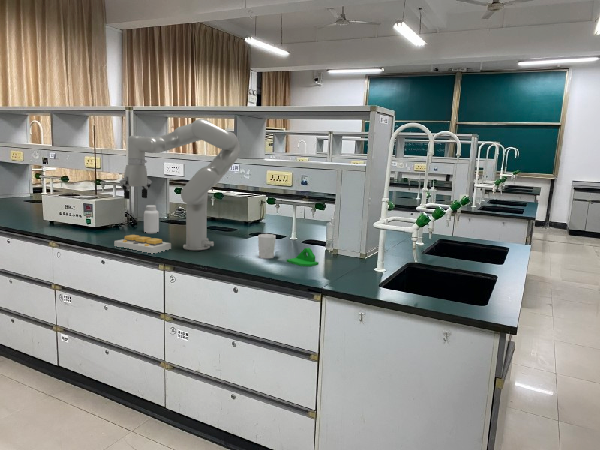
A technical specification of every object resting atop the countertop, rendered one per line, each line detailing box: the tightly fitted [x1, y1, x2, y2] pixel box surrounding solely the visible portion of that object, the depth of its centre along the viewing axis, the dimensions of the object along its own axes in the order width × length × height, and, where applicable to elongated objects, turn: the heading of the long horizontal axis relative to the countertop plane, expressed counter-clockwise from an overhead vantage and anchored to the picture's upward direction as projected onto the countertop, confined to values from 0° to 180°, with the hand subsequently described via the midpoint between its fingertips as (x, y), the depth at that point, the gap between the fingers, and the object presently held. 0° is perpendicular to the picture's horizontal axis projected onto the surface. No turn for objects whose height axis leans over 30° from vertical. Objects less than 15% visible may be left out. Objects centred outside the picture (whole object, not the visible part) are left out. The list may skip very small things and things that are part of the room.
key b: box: [135, 235, 152, 244], centre depth 212 cm, size 5×5×3 cm
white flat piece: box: [113, 238, 172, 255], centre depth 212 cm, size 24×12×4 cm, turn 63°
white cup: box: [257, 233, 277, 260], centre depth 205 cm, size 8×8×10 cm
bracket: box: [286, 247, 319, 268], centre depth 196 cm, size 12×8×7 cm, turn 45°
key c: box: [124, 234, 141, 242], centre depth 216 cm, size 5×5×3 cm
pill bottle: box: [143, 204, 160, 234], centre depth 250 cm, size 8×8×15 cm
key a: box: [146, 237, 163, 246], centre depth 209 cm, size 5×5×3 cm
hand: (135, 198), depth 215 cm, fingers open, 9 cm apart
